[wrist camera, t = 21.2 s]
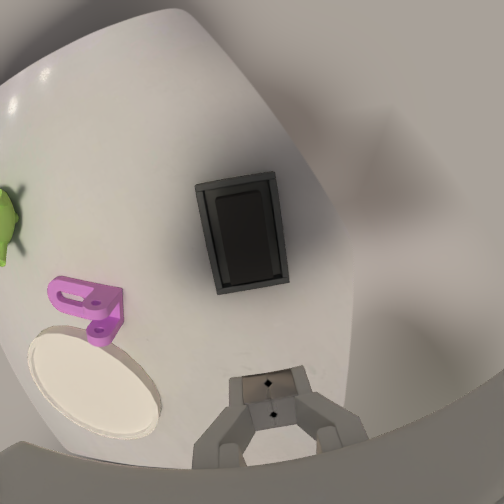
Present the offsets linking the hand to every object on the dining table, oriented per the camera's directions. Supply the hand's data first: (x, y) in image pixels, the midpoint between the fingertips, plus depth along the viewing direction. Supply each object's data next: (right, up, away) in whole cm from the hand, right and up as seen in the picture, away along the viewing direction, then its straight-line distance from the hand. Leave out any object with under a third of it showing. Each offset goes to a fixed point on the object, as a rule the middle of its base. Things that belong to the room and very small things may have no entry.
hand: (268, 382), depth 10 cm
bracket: (-25, -1, +25) cm, 36 cm away
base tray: (-2, +8, +24) cm, 25 cm away
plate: (-31, -20, +31) cm, 48 cm away
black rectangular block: (-2, +7, +23) cm, 25 cm away
